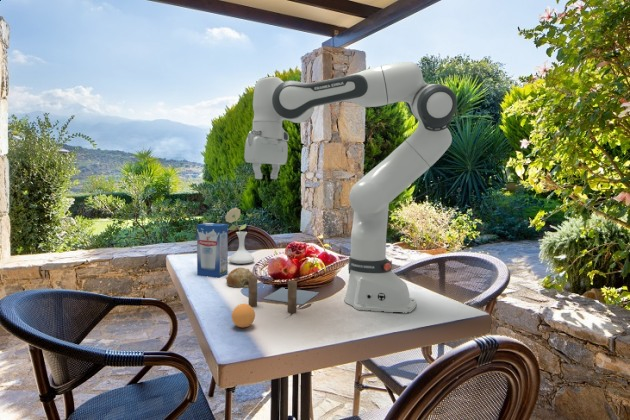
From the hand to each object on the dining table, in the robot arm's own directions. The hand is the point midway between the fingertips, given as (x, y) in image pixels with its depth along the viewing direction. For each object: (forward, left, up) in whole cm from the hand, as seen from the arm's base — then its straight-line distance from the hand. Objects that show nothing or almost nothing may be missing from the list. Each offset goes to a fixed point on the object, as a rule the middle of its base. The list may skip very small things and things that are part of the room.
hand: (266, 179), depth 124 cm
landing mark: (-5, -10, -39) cm, 40 cm away
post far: (+2, +4, -38) cm, 39 cm away
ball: (-5, +20, -36) cm, 41 cm away
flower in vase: (+37, -45, -39) cm, 70 cm away
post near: (-11, +4, -39) cm, 40 cm away
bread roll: (+18, -15, -39) cm, 46 cm away
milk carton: (+35, -22, -39) cm, 57 cm away
